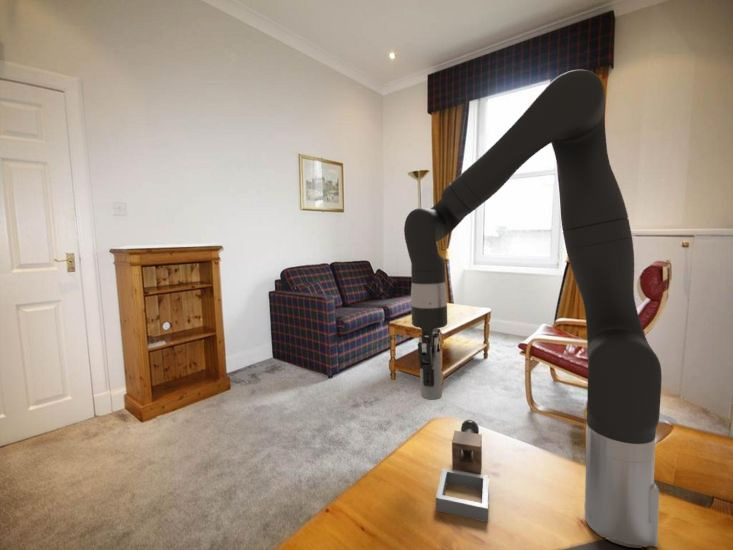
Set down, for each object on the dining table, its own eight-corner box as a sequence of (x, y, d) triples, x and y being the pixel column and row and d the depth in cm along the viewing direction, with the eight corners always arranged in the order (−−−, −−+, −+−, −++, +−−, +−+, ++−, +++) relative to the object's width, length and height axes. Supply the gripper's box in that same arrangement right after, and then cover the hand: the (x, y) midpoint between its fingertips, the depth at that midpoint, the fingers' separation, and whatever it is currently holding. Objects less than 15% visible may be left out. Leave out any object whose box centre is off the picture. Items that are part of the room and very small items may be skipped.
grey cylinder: (442, 400, 74) (440, 353, 73) (420, 399, 75) (418, 352, 74) (441, 392, 78) (440, 346, 78) (421, 391, 79) (419, 346, 79)
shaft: (478, 437, 85) (478, 421, 84) (476, 460, 76) (476, 442, 75) (461, 434, 86) (461, 418, 86) (457, 456, 77) (457, 439, 77)
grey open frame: (488, 488, 70) (488, 476, 70) (487, 522, 61) (487, 508, 61) (442, 479, 73) (442, 467, 73) (436, 510, 65) (435, 497, 64)
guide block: (481, 462, 78) (481, 434, 77) (480, 477, 73) (480, 446, 73) (454, 458, 80) (454, 430, 79) (452, 471, 75) (451, 442, 75)
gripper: (441, 310, 67) (444, 396, 68) (450, 298, 80) (452, 371, 82) (403, 309, 70) (406, 392, 71) (418, 298, 83) (420, 368, 84)
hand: (431, 380), depth 76 cm, fingers closed on grey cylinder, 4 cm apart
